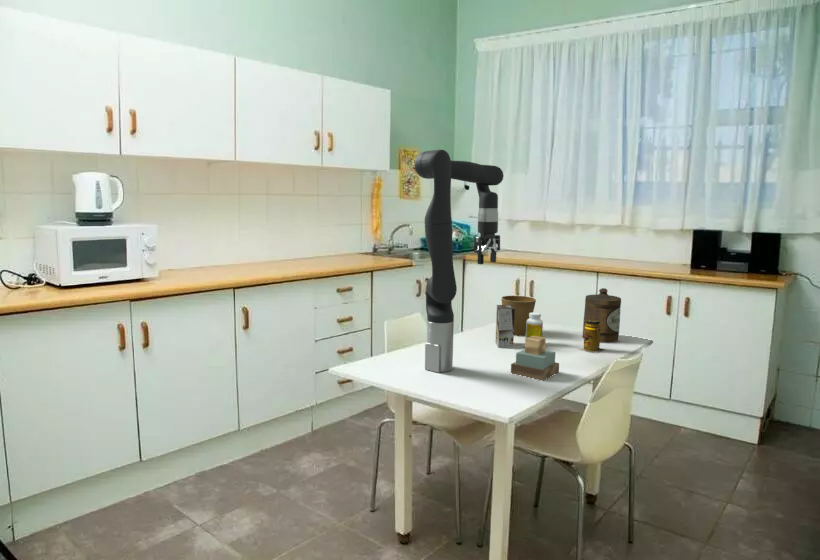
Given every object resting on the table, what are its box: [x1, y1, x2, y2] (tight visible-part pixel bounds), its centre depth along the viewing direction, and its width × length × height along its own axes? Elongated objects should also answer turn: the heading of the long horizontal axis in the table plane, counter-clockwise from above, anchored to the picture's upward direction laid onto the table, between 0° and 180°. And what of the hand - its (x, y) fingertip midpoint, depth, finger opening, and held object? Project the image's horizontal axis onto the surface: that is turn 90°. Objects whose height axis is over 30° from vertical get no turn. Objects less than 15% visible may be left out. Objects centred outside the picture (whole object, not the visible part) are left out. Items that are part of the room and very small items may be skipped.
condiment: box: [579, 320, 606, 354], centre depth 237 cm, size 7×8×12 cm
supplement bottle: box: [525, 311, 544, 338], centre depth 245 cm, size 7×7×13 cm
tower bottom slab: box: [510, 361, 560, 381], centre depth 206 cm, size 12×12×4 cm
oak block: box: [524, 336, 547, 355], centre depth 204 cm, size 5×5×5 cm
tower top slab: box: [515, 348, 556, 370], centre depth 205 cm, size 10×10×4 cm
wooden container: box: [582, 287, 622, 344], centre depth 255 cm, size 15×15×22 cm
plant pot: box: [501, 295, 537, 337], centre depth 262 cm, size 15×15×16 cm
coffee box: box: [495, 304, 515, 349], centre depth 242 cm, size 9×6×16 cm
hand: (486, 263), depth 226 cm, fingers open, 8 cm apart
